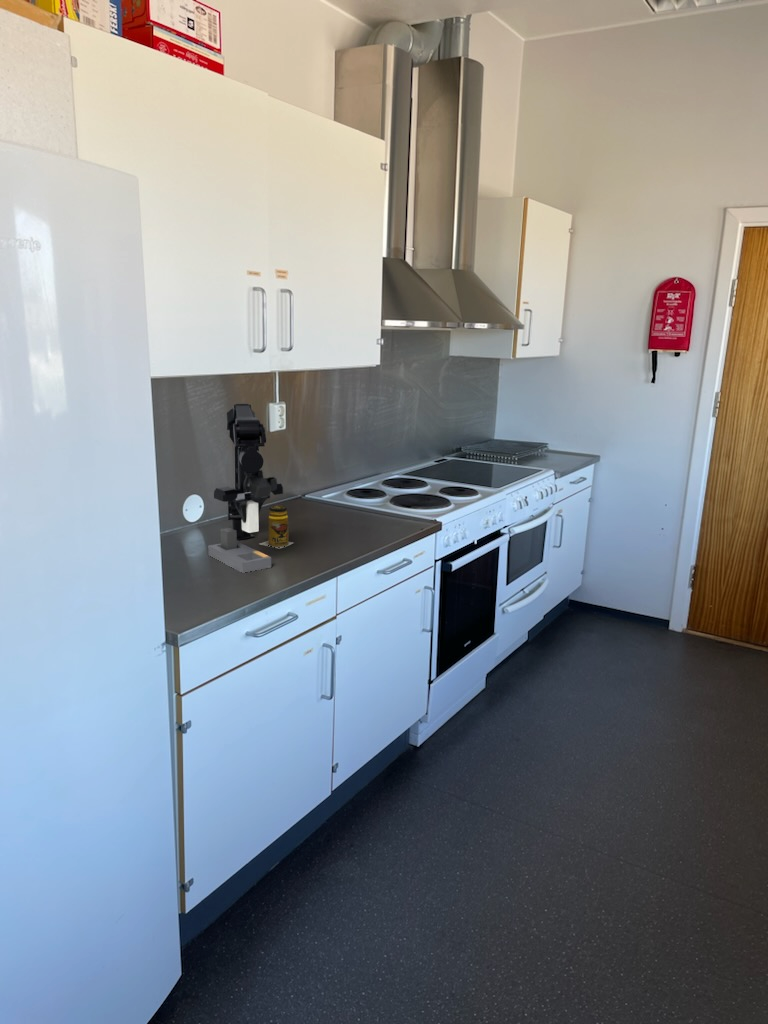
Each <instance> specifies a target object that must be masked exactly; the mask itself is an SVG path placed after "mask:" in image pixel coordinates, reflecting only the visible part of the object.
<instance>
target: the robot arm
mask: <svg viewBox="0 0 768 1024" xmlns="http://www.w3.org/2000/svg"><path fill="white" fill-rule="evenodd" d="M225 416H226V417H225V428H226V431H228V436H229V438H230V440H231V441H232V443H233V467H234V468H233V473H234V474H233V476H234V477H233V478H234V479H233V485H234V487H233V488H232V487H229V486H223V487H216V488H215V489H214V491H213V498H214V499H215V500H217V501H221V502H225V503H226V515H227V516H226V517H227V521H231V528H232V529H234V530H236V532H237V541H239V540H240V541H241V540H247V539H251V538H255V537H256V535H254V534H253V533H248V532H246V531H243V530H242V521H243V522H244V523H246V503H247V501H249V500H251V501H254V502H257V503H258V517H259V516H260V512H261V510H262V507H263V505H264V503H265V502H266V501H267V500H268V499H270V498H271V493H272V494H273V495H274V496H276V495H283V494H284V485H283V483H281V482H277V481H278V480H277V477H275V476H269V477H264V474H263V470H262V468H263V466H264V457H263V456H262V454H261V452H260V447H266V446H265V444H266V443H267V437H266V436H267V435H266V428H265V427H264V424H263V423H261V420H260V419H259V418H257V417H256V413H255V411H254V410H253V409H252V405H251V404H249V402H247V403H244V402H243V403H234V404H232V408H231V409H230V410H229V411H227V412H226V415H225Z"/></svg>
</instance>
